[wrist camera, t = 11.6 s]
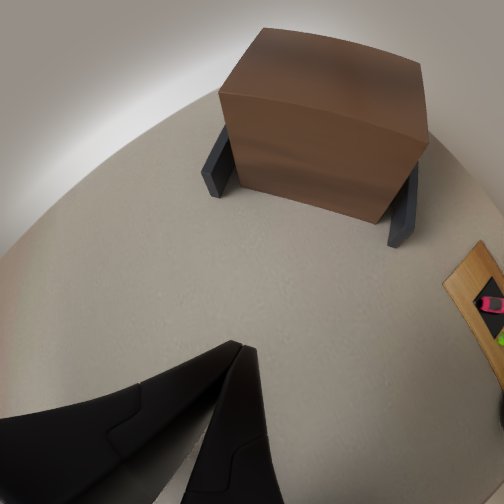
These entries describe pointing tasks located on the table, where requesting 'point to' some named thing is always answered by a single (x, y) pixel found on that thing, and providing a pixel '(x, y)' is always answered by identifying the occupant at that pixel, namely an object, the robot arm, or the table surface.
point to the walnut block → (325, 121)
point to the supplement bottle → (502, 413)
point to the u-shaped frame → (403, 205)
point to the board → (481, 303)
